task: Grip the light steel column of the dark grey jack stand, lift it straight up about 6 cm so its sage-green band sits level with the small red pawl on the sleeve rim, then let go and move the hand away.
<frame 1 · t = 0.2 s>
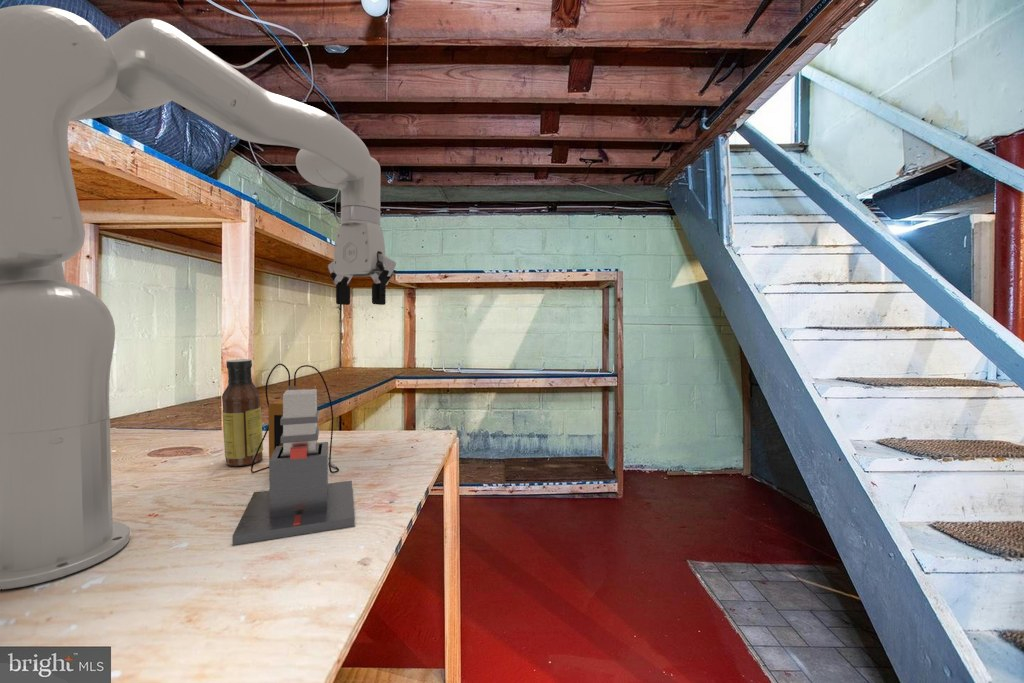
hand: (360, 304, 86), 31 cm above the table, fingers open, 9 cm apart
stand base: (301, 512, 60), on the table
column: (300, 447, 60), point 10 cm above the table, slide at 0.0 cm
sauce bottle: (243, 463, 81), on the table
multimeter: (304, 468, 78), on the table
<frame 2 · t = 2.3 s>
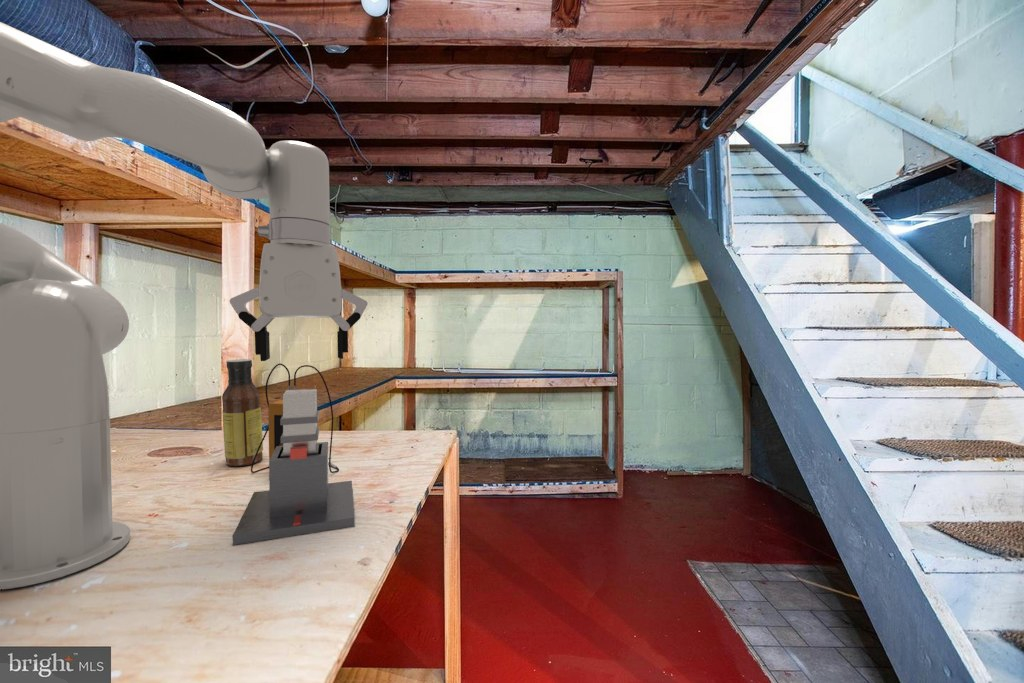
hand: (304, 358, 60), 22 cm above the table, fingers open, 9 cm apart
nothing on the table moved.
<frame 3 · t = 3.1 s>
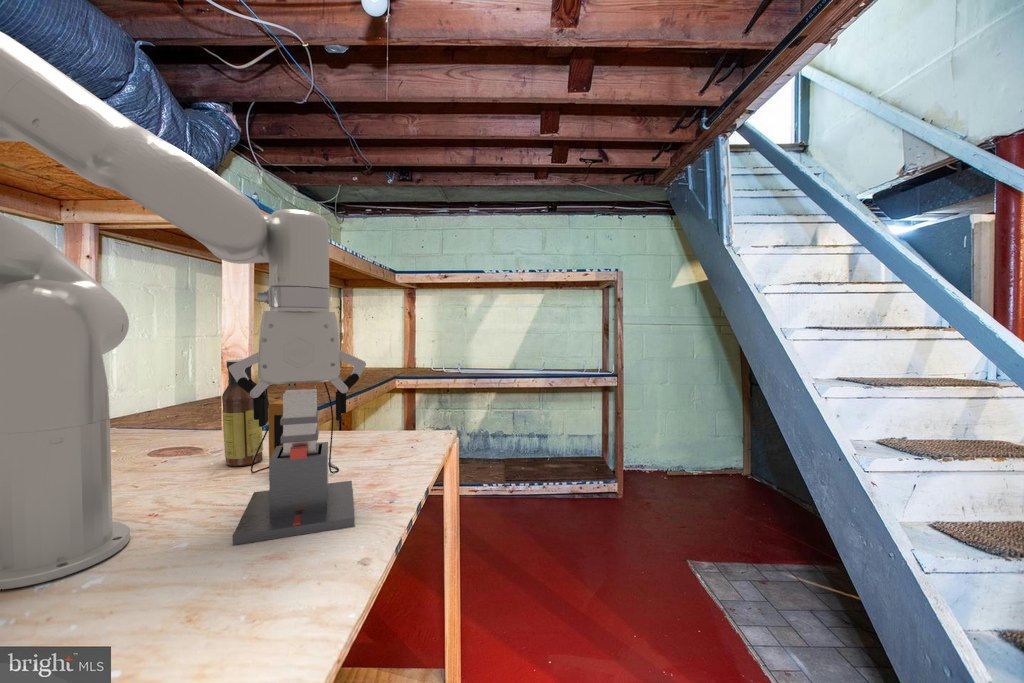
hand: (302, 421, 60), 13 cm above the table, fingers open, 9 cm apart
nothing on the table moved.
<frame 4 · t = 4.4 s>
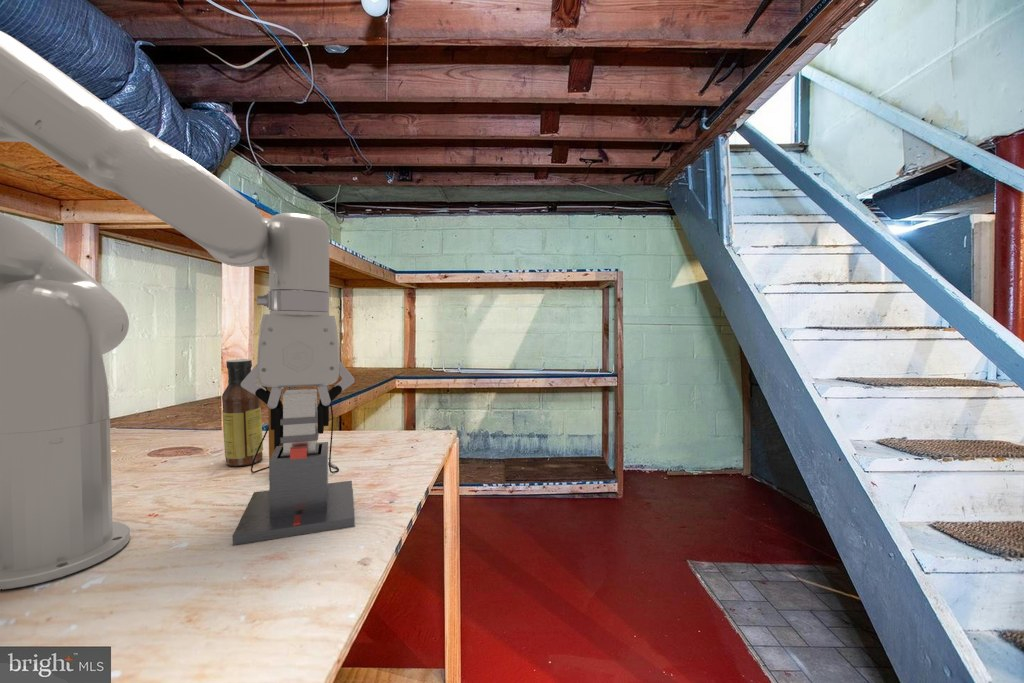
hand: (300, 431, 60), 12 cm above the table, fingers closed on column, 4 cm apart
column: (300, 447, 60), point 9 cm above the table, slide at 0.0 cm, touching gripper
everything else where it was.
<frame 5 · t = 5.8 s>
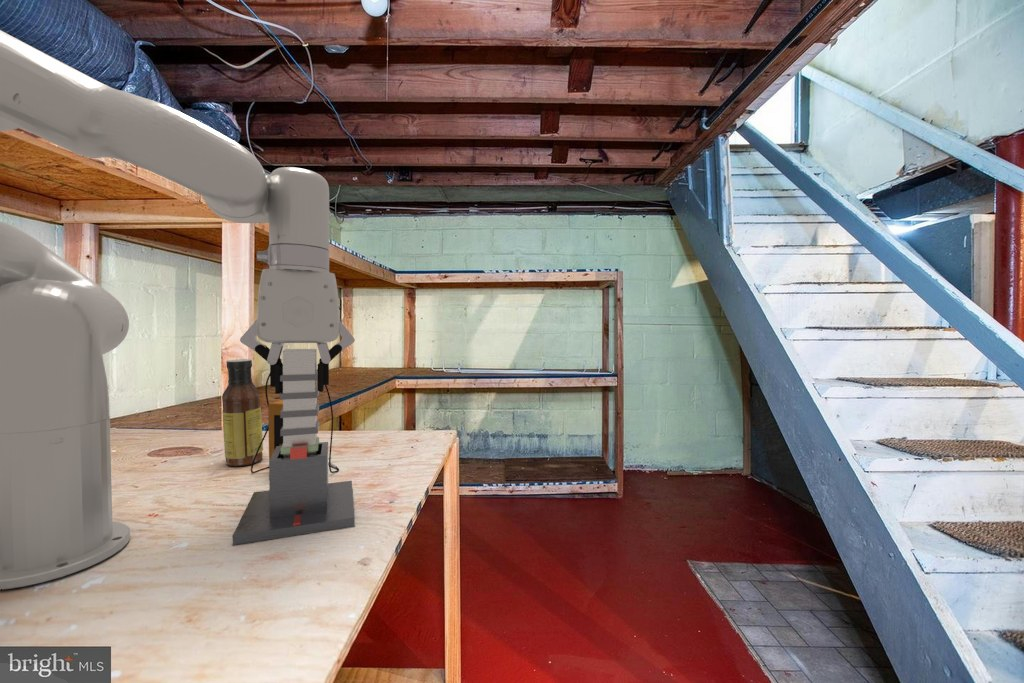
hand: (300, 389, 60), 18 cm above the table, fingers closed on column, 4 cm apart
column: (300, 405, 60), point 15 cm above the table, slide at 6.0 cm, touching gripper
everything else where it was.
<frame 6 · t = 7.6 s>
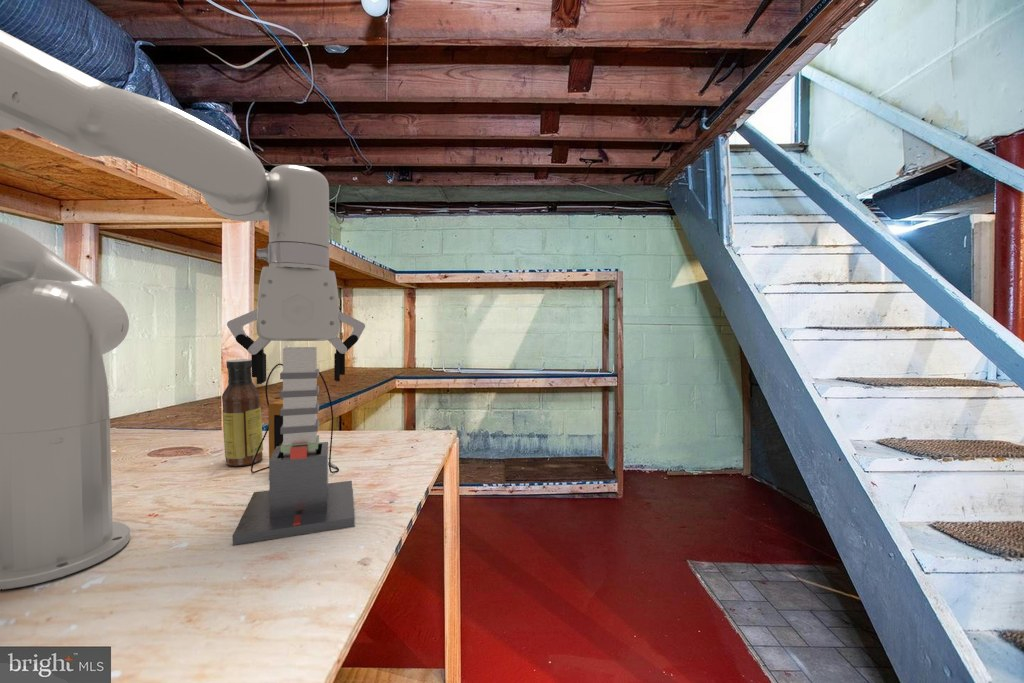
hand: (300, 381, 59), 19 cm above the table, fingers open, 9 cm apart
column: (300, 403, 60), point 16 cm above the table, slide at 6.3 cm
everything else where it was.
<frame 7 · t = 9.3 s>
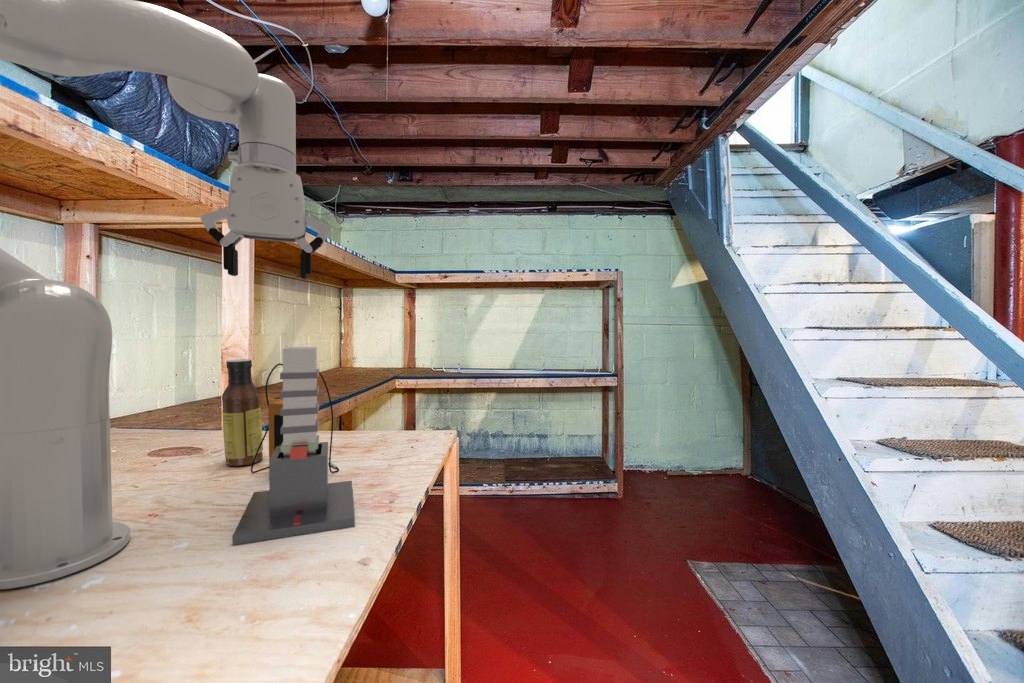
hand: (269, 277, 65), 34 cm above the table, fingers open, 9 cm apart
nothing on the table moved.
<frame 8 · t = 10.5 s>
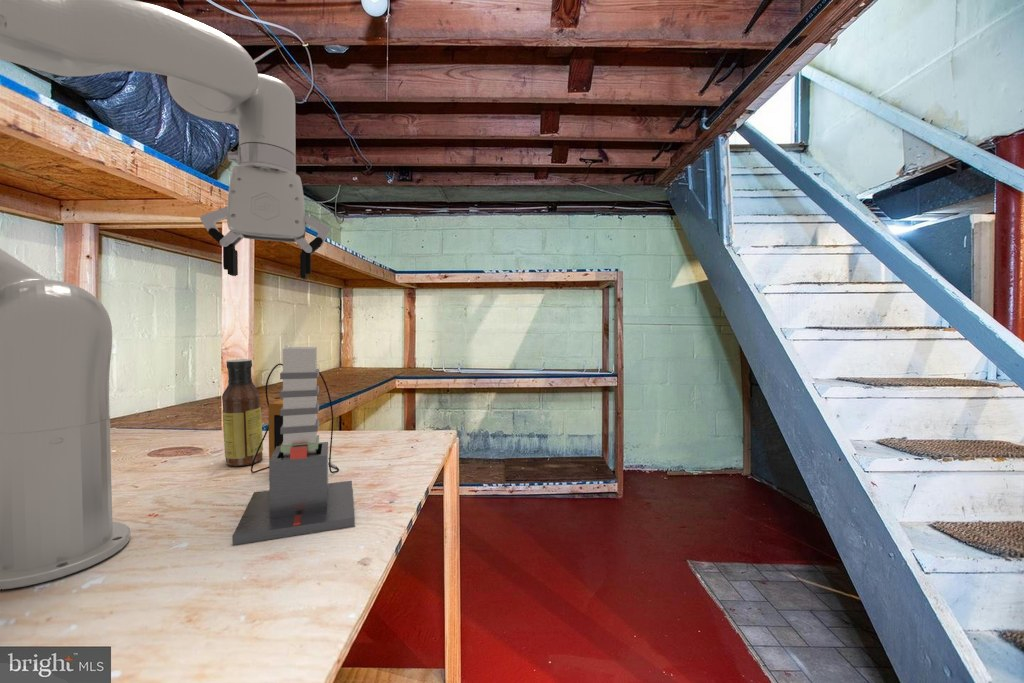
hand: (269, 277, 65), 34 cm above the table, fingers open, 9 cm apart
nothing on the table moved.
at the end: column slide at 6.3 cm; the gripper is holding nothing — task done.
